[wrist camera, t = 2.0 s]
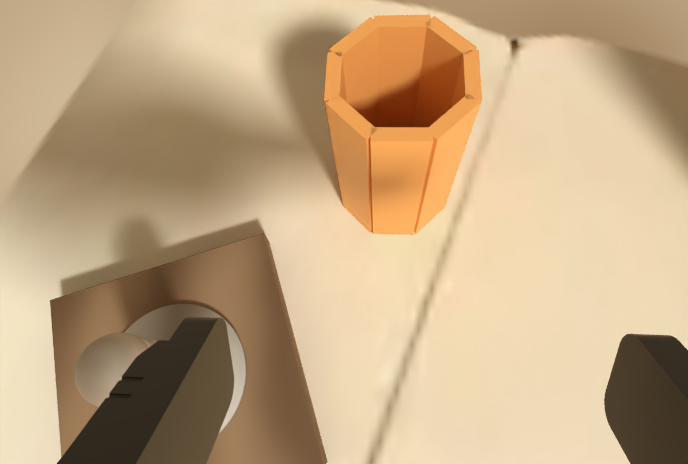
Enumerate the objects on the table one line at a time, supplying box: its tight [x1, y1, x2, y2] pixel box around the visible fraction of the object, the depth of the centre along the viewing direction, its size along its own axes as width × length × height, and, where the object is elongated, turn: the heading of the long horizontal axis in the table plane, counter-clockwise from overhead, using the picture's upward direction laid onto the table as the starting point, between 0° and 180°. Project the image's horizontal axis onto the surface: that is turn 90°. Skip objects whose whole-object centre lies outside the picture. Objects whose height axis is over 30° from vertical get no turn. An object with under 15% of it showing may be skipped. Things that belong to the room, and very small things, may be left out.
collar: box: [324, 15, 482, 234], centre depth 22 cm, size 6×6×10 cm
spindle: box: [50, 234, 327, 464], centre depth 20 cm, size 12×12×8 cm
